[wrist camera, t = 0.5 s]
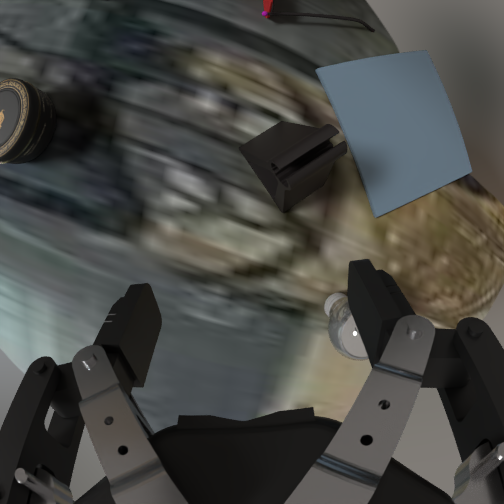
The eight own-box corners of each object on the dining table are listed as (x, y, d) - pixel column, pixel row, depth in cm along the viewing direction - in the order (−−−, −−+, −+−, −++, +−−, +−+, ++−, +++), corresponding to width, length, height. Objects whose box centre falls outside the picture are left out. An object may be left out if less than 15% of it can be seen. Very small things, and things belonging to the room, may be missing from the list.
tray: (315, 70, 33) (316, 68, 32) (424, 51, 34) (426, 50, 33) (374, 217, 37) (376, 217, 37) (469, 171, 38) (472, 171, 37)
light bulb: (302, 325, 39) (335, 374, 27) (312, 272, 38) (353, 306, 26) (350, 327, 40) (393, 371, 28) (361, 278, 39) (413, 309, 27)
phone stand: (322, 185, 36) (370, 183, 24) (281, 213, 36) (313, 222, 24) (281, 121, 34) (312, 90, 22) (238, 147, 34) (250, 125, 22)
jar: (37, 79, 28) (8, 62, 21) (74, 119, 31) (45, 105, 23) (-6, 136, 29) (-39, 130, 21) (27, 181, 31) (-7, 180, 24)
